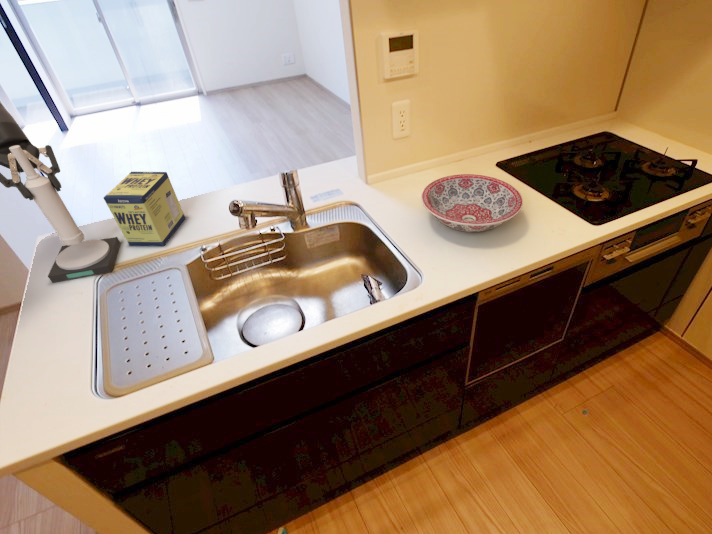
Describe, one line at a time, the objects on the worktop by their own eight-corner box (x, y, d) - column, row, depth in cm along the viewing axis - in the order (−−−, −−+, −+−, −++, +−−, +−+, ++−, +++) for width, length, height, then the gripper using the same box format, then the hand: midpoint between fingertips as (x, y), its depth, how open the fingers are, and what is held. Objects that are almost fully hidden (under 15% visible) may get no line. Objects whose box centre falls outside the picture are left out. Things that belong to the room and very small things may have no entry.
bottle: (89, 235, 113) (33, 142, 96) (76, 246, 109) (16, 152, 92) (71, 234, 113) (12, 142, 96) (58, 245, 110) (-6, 151, 93)
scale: (52, 283, 110) (45, 274, 108) (66, 252, 120) (60, 243, 118) (111, 272, 113) (106, 263, 111) (120, 243, 123) (115, 234, 120)
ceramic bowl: (536, 238, 122) (542, 213, 116) (441, 257, 116) (443, 232, 110) (491, 190, 142) (494, 168, 137) (408, 205, 136) (408, 181, 131)
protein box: (128, 246, 121) (101, 197, 111) (153, 217, 133) (131, 170, 122) (164, 246, 121) (141, 197, 110) (186, 217, 132) (167, 170, 122)
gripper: (-45, 130, 92) (5, 199, 94) (31, 113, 99) (76, 177, 101) (-32, 147, 98) (14, 211, 100) (38, 130, 106) (80, 189, 108)
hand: (45, 193), depth 101 cm, fingers closed on bottle, 5 cm apart
